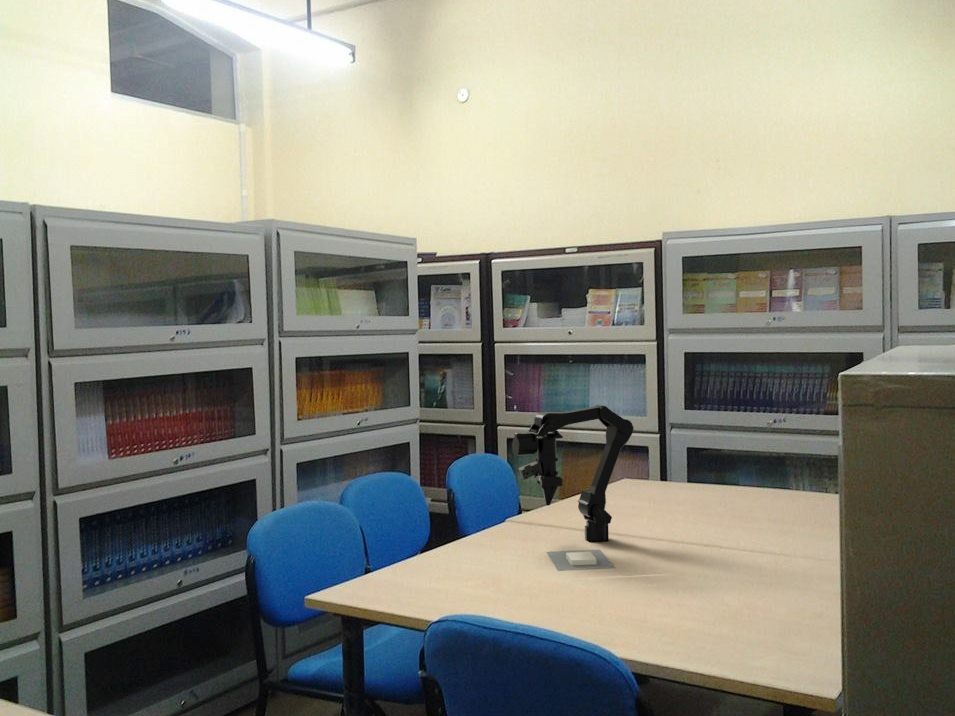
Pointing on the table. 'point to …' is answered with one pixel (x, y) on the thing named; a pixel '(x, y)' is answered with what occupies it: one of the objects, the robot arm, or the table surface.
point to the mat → (563, 564)
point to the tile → (581, 558)
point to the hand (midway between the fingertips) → (547, 505)
